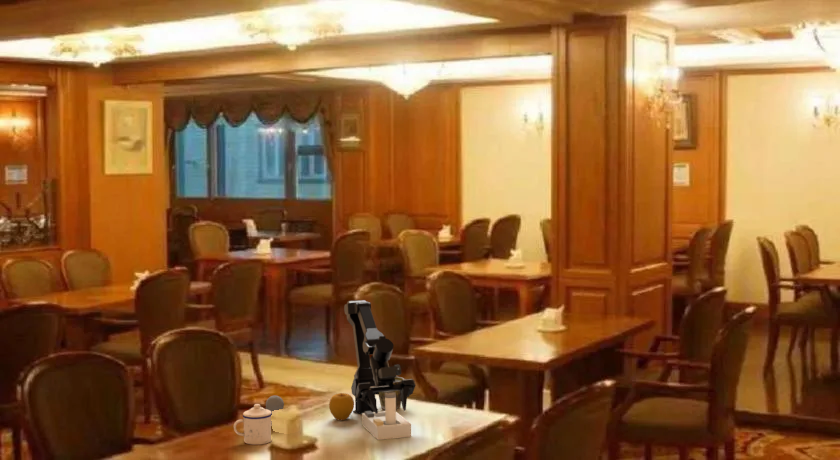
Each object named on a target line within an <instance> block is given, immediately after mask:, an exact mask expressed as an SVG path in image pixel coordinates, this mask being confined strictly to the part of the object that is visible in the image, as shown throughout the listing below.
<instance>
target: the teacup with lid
mask: <svg viewBox="0 0 840 460" xmlns="http://www.w3.org/2000/svg"><path fill="white" fill-rule="evenodd" d="M271 415H272V412H271V411H270V410H267V409H266V408H264V407H262V406H261V404H259V403H255V404H254V405H253V407H251V408H249V409H248V410H245V411H244V412H243V413H242V417H243V419H242V418H241V419H237V420H236V421H234V423H233V431H234V432H235V433H236V434H237V435H238V436H242V437H243V441H244V443H246V444H248V445H255V446H258V445H259V446H260V445H265V444H268V443H270V442H271V441H272V440H271V426H273V425H272V421H271ZM240 423H243V432H239V431H238V430H237V425H238V424H240ZM270 440H271V441H270Z"/></svg>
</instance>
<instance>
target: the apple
mask: <svg viewBox="0 0 840 460" xmlns="http://www.w3.org/2000/svg"><path fill="white" fill-rule="evenodd" d="M328 405H329V411H330V413H331V415H332V416H333V417H334V419H335V420H336V421H345V420H347V419H348V418H349V417H350V415H351V414H352V413H353V411H354V408H355V399H354V397H353V396H352V395H351V394H348V393H345V392H343V393H342V392H341V393H336V394H334V395H332V396H331V398H330V400H329V404H328Z"/></svg>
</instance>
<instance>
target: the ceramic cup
mask: <svg viewBox="0 0 840 460" xmlns="http://www.w3.org/2000/svg"><path fill="white" fill-rule="evenodd" d="M404 379H405V378H404V377H401V376H396V377H395V382H393V384H394V385H396V384H401V381H402V380H404ZM388 392H395V393H396V410H397V408H398V409H400V408H401V407H402V402H401V398H400V396H401V394H400V391H388ZM385 393H386V392H379V394H378V399H379V405H380V407H381V409H383V410H385ZM399 407H400V408H399Z"/></svg>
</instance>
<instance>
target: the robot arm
mask: <svg viewBox="0 0 840 460" xmlns="http://www.w3.org/2000/svg"><path fill="white" fill-rule="evenodd" d="M343 310H344V314H345V315H346V320H347V322H348V323H349V324H350V326H351V327H352V330H353V333H352V334H353V339H354V347H355V357H356V365H357V367H356V371H355V373H354V374H353V377H354V378H353V381H352V385H351V394H352V395H353V396H354V398H355V399H354V408H355V410H354V409H353V411H352V413H356V414H362V413H365V411H371V412H375V413H376V414H377V413H378V412H379V411H378V410H379V408H378V406H377V398H376V395H379V392H388V391H400V394H401V396H400V398H401V407H402V409H403V411H404V412H405V411H406V410H407V402H408V398H409V397H410V396H411V395H413V394H414V391H415V389H416V382H415V380H414V379H413V378H404V380H402V381H401V384H396V385H394V384H393V382H395V377H397V376H400V375H401V374H402V368H401V365H400V364H394V365H393V366H390V365H389V361H390V359H391V356H392V353H393V350H394V348H395V347H394V346H395V345H394V343H393V342H392V340H391V339H389V338H387V337H386V335H384V334H383V333H382V332H381V331H379V330H378V327H377V325H376V322H375V318H374V315H373V312H372V303H371V302H369V301H366V300H365V299H362V300H360V299H359V300H348V301H347V303H346V304H344V308H343Z"/></svg>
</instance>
